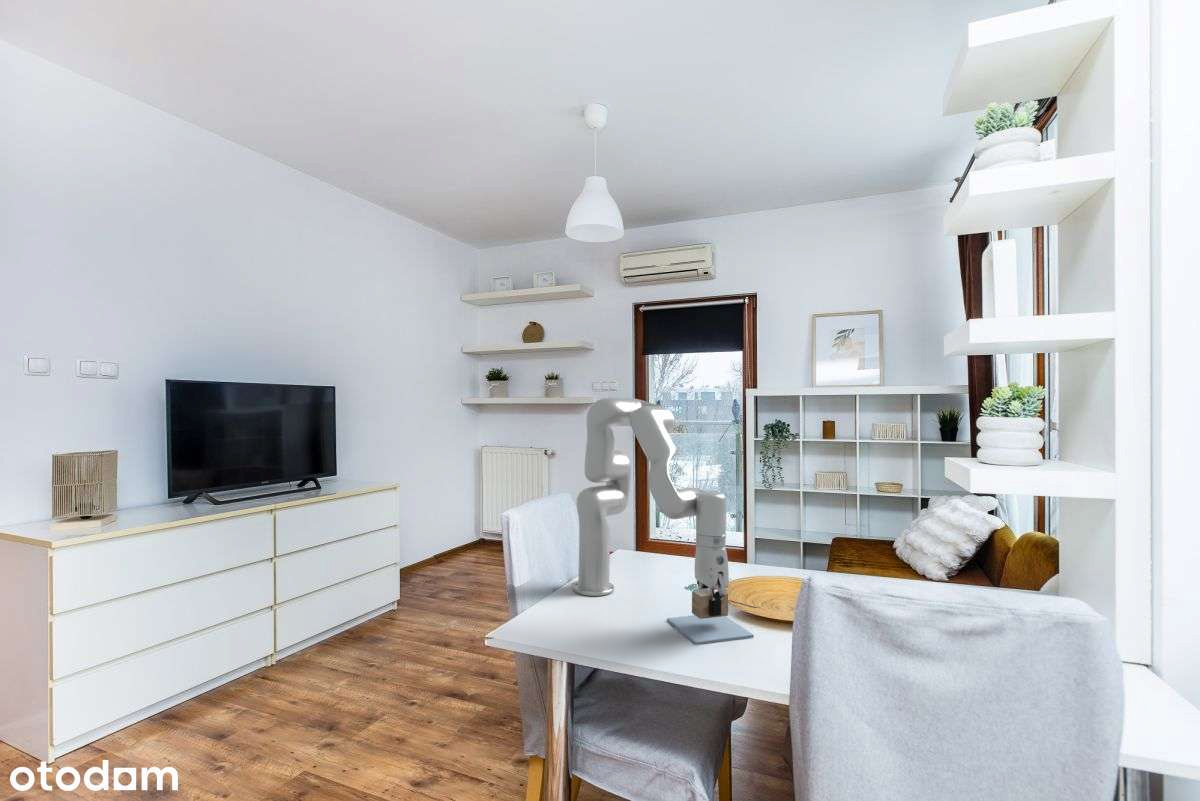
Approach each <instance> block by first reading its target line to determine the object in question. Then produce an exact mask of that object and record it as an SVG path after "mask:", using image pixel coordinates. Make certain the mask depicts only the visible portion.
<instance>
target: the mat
mask: <svg viewBox="0 0 1200 801" xmlns="http://www.w3.org/2000/svg"><path fill="white" fill-rule="evenodd" d="M666 620H667V622H668V623H670V624H671V625H672V626H673V627H674V628H676V630H678V631H679V632H680V633H682V635H684V637H686V638H687V639H689V640H690V641H691V642H692V643H694V645H696V646H697V645H704V644H705V645H706V644H713V643H719V642H727V641H728V642H729V641H736V640H743V639H751V637H752V638H754V637H755V636H754V635H755V634H753V633H752V632H750V631H749V630H747V629H746V628H745V627H743V626H741V625H740V624H738V623H737V622H735V621H734V620H732V619H731V618H729V617H728V616H722V617H713V618H705V619H700V618H698V617H697V616H695V615H694V614H692V615H686V616H683V615H682V616H675V617H667V618H666Z"/></svg>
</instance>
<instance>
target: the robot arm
mask: <svg viewBox="0 0 1200 801" xmlns="http://www.w3.org/2000/svg"><path fill="white" fill-rule="evenodd" d="M675 424H676V423H675V416H674V415H673V413H672V412H671V410H669V409H668V408H667V407H665V406H663V405H659V404H656V403H653V402H649V401H646V400H643V399H638V398H632V397H631V398H629V397H628V398H627V397H604V398H601V399H600V398H599V399H598V400H596V401H595V402H593V403H592V405H590V407H589V409H588V411H587V414H586V435H587V436H586V446H585V456H584V457H585V458H584V476H585V478H586V479H587V481H589V482H590V483H598V484H599V483H605V484H604V485H595V486H590V487H586V488H583V490H581V491H580V492H579V493H578V495H577V498H576V511H577V516H578V526H579V527H578V529H579V530H578V578H577V579H578V580H577V582H575V583H573V586H572V589H573V590H572V591H573V592H575V593H576V594H580V595H583V596H589V597H590V596H591V597H599V596H600V597H601V596H607V595H610V594H612V593H614V591H615V585H614V584H613V583H611V582H610V567H611V566H610V562H611V560H610V559H611V558H610V557H611V555H610V554H611V531H610V526H609V523H608V522H607V519H606V517H608V516H609V517H610V516H614V515H619V514H621V513H623V512H624V511H625V510H626V508H627V507H628V503H629V499H630V490H631V481H632V480H631V479H632V464H631V461H630V458H629V456H628V455H627V454H626V453H625V452H623V451H620V450H615V441H616V440H615V434H614V431H613V429H612V427H631V429H632V431H633V433H634V435H635V437H636V439H637V441H638V443H639V445H640V447H641V449H642V452H643V453H644V455H645V457H646V459H647V461H648V465H649V466H648V472H647V473H648V474H647V476H648V477H647V479H648V487H649V491H650V494H651V496H652V498H653V500H654V503H656V505H657V507H658V509H659V511H660V512H661V514H662V515H664V517H666V518H668V519H670V520H679V519H684V518H689V517H695V516H696V517H695V518H696V519H695V521H696V522H695V526H696V527H695V546H696V547H695V554H694V578H695V580H696V582H697V584H698V589H704V588H710V597H711V600H709V615H710V616H718V615H721V600H722V599H723V596H724V594H726V593H727V590H726V588H727V587H728V585H729V579H730V578H729V575H730V574H729V573H730V572H729V561H728V559H729V558H728V552H727V548H726V545H727V544H726V537H727V536H726V535H727V534H726V533H727V531H726V530H727V498H726V496H725V494H724V493H722V492H719V491H708V490H704V489H700V488H698V487H684V488H677V489H676V486H675V485H674V483H673V481H672V479H671V476H670V474H669V473H670V472H669V465H670V462H671V461H672V460H673V459H674V458H675V457H676V455H677V452H678V450H677V446H676V445H675V443H674V442H673V440H672V438H671V437H670V433H671V432H673V429H674V428H675ZM715 585H718V587H715ZM714 590H718V591H717V592H716V593H715V594H714Z"/></svg>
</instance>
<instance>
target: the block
mask: <svg viewBox="0 0 1200 801" xmlns="http://www.w3.org/2000/svg"><path fill="white" fill-rule="evenodd" d="M717 591H718V590H714V594H715V593H716V592H717ZM709 600H711V597H710V588H704V589H694V590H693V591H692V590H691V613H692V615H695V616H697V617H698V618H700V619H705V618H713V617H722V616H726V617H728V616H729V601H728V592H727V593H726V594H724V596H723V599H722V600H721V615H718V616H710V615H709Z"/></svg>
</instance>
